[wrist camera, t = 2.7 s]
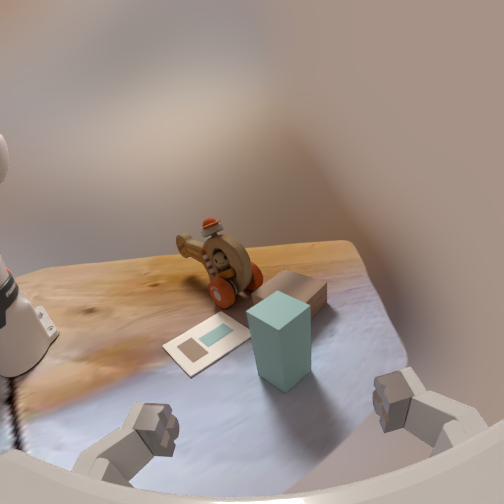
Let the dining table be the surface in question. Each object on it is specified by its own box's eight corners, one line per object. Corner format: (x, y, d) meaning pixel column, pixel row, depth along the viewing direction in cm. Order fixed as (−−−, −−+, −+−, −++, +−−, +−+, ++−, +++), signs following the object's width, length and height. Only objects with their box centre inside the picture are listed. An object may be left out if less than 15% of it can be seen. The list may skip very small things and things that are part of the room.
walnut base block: (254, 314, 44) (251, 293, 42) (286, 289, 49) (284, 269, 47) (297, 334, 39) (295, 311, 37) (326, 303, 43) (326, 282, 42)
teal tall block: (258, 374, 33) (245, 311, 28) (284, 353, 35) (277, 290, 31) (285, 393, 29) (278, 330, 25) (311, 370, 32) (310, 305, 28)
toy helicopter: (233, 316, 44) (216, 234, 38) (169, 276, 58) (151, 213, 52) (270, 291, 48) (260, 214, 42) (201, 260, 63) (187, 199, 57)
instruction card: (162, 346, 39) (161, 345, 39) (221, 311, 45) (220, 310, 45) (190, 377, 33) (190, 376, 33) (255, 334, 39) (254, 332, 39)
